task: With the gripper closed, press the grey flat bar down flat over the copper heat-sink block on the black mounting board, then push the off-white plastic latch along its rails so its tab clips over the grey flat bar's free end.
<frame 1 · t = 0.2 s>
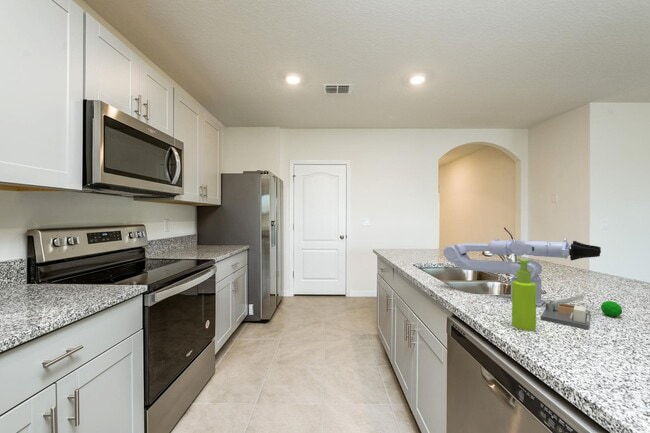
hand: (600, 251, 93), 21 cm above the table, tool horizontal, fingers open, 7 cm apart
polyhedron: (611, 316, 93), on the table
soap dispenser: (523, 326, 84), on the table
grey flat bar: (566, 300, 92), point 5 cm above the table, hinge at 28.0°
mount board: (566, 317, 92), on the table
latch: (579, 313, 86), point 3 cm above the table, slide at 0.0 cm
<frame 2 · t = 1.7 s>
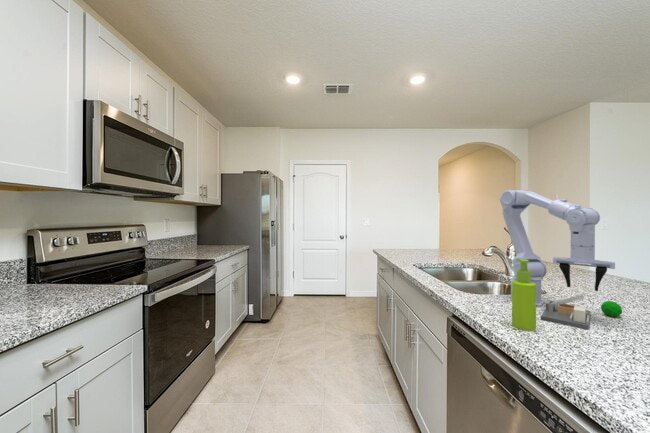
hand: (582, 288, 90), 10 cm above the table, tool pointing down, fingers open, 6 cm apart
nothing on the table moved.
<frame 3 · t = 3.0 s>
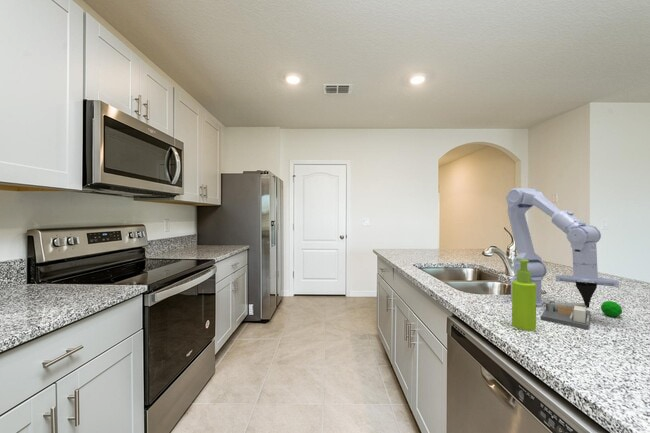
hand: (586, 306, 89), 4 cm above the table, tool pointing down, fingers closed, pressing on grey flat bar
grey flat bar: (568, 305, 92), point 4 cm above the table, hinge at 10.1°, touching gripper
everything else where it was.
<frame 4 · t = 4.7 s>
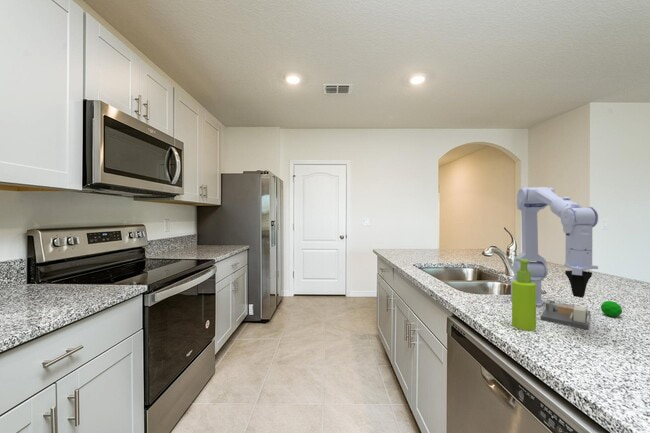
hand: (578, 296, 80), 10 cm above the table, tool pointing down, fingers closed
grey flat bar: (568, 307, 92), point 3 cm above the table, hinge at -0.8°, touching mount board
everything else where it was.
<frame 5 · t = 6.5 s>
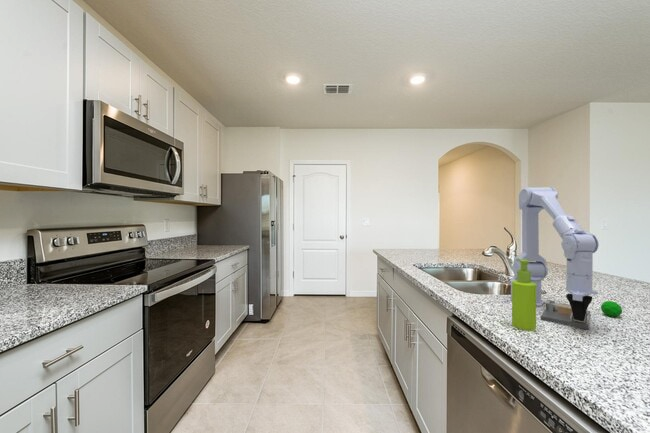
hand: (578, 320, 83), 2 cm above the table, tool pointing down, fingers closed
latch: (579, 313, 86), point 3 cm above the table, slide at 0.3 cm, touching gripper
everything else where it was.
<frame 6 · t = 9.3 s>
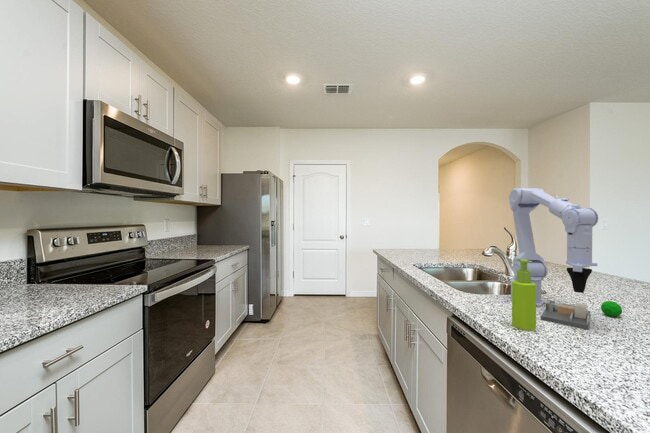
hand: (578, 292, 86), 10 cm above the table, tool pointing down, fingers closed
latch: (580, 310, 89), point 3 cm above the table, slide at 4.4 cm
everything else where it was.
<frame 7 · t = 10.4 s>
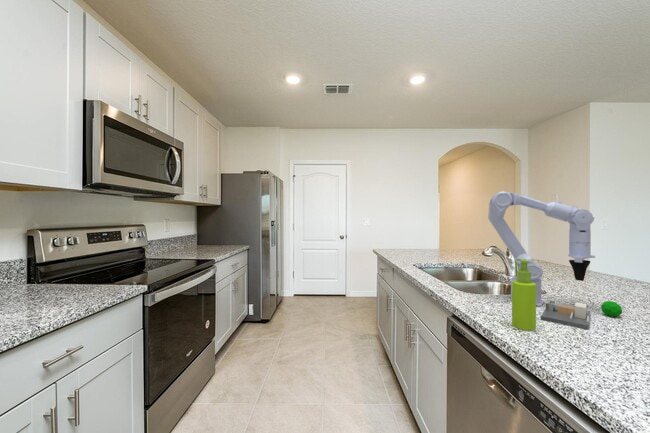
hand: (579, 280, 101), 10 cm above the table, tool pointing down, fingers closed
nothing on the table moved.
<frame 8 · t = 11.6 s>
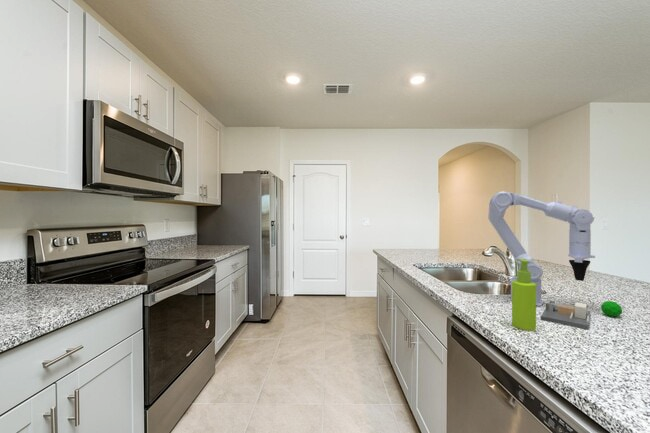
hand: (579, 280, 101), 10 cm above the table, tool pointing down, fingers closed
nothing on the table moved.
at the end: grey flat bar at -1° (first picture: +28°); latch slide at 4.4 cm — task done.
